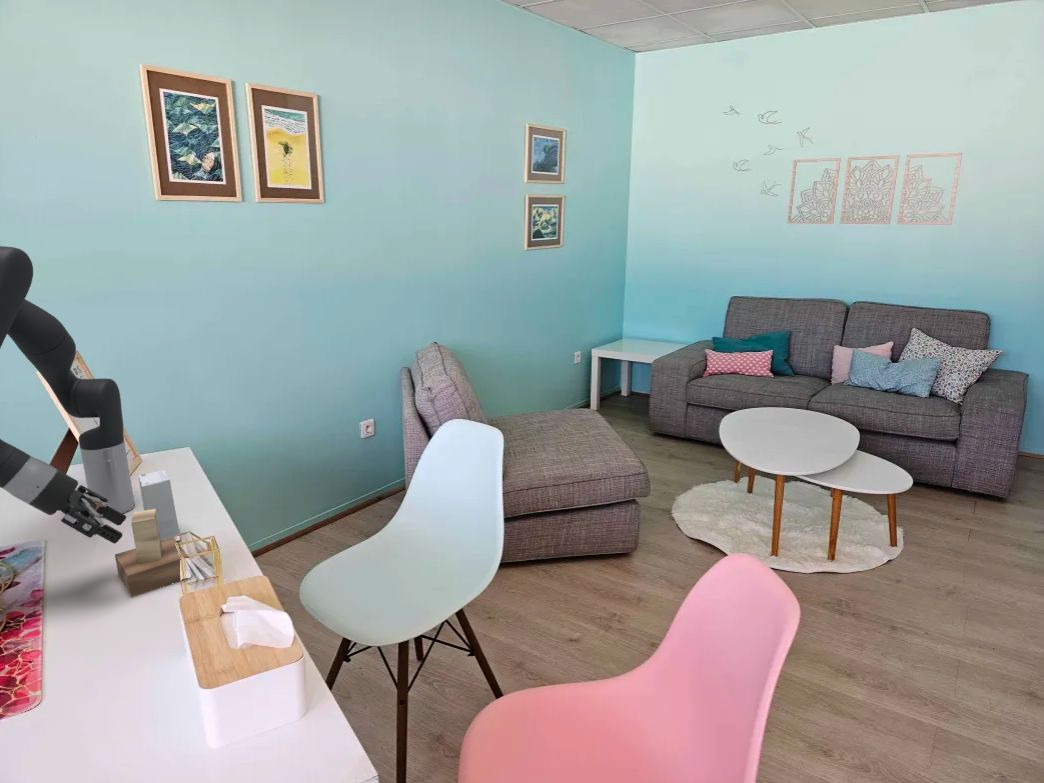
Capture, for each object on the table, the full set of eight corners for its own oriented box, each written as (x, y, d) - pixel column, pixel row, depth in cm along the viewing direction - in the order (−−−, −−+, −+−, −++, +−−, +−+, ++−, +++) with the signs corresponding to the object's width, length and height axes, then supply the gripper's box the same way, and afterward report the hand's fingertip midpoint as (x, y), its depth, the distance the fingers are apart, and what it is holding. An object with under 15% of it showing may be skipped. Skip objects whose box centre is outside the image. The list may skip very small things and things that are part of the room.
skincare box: (181, 541, 154) (172, 479, 150) (151, 548, 151) (141, 485, 147) (176, 527, 161) (167, 468, 157) (147, 534, 158) (137, 473, 154)
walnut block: (118, 576, 140) (114, 554, 139) (176, 558, 147) (173, 537, 146) (131, 598, 132) (127, 575, 131) (192, 578, 139) (188, 556, 138)
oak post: (140, 552, 139) (133, 512, 137) (162, 548, 141) (155, 508, 138) (138, 563, 135) (131, 522, 133) (161, 559, 137) (154, 518, 134)
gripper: (48, 483, 121) (132, 529, 129) (61, 457, 134) (137, 501, 141) (18, 516, 121) (104, 561, 128) (34, 487, 133) (111, 530, 141)
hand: (121, 529), depth 135 cm, fingers open, 8 cm apart
